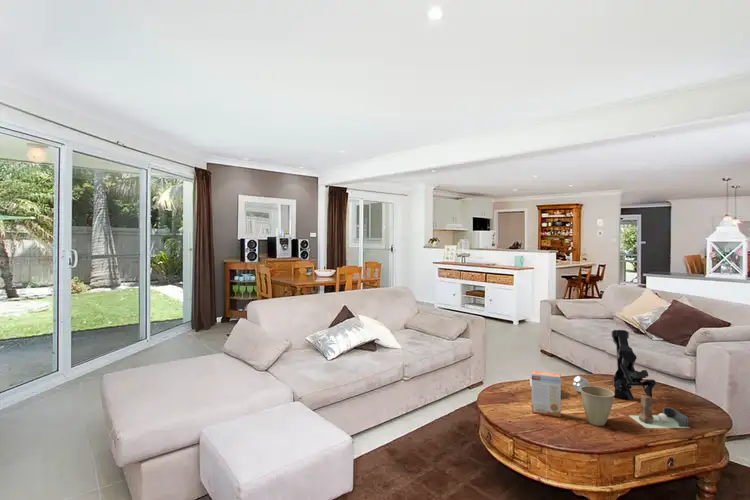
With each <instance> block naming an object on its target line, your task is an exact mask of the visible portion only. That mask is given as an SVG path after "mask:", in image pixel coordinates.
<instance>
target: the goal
mask: <svg viewBox="0 0 750 500" xmlns="http://www.w3.org/2000/svg"><path fill="white" fill-rule="evenodd" d="M662 413H664V414H665V415H666V416H667V417H671V418H673V419H674V420H676V421H678V422H679V426H680V427H689V417H688V416H686V415H684V414H683V413H681V412H679V411H678V410H677V409H674V408H673V407H663V408H662Z"/></svg>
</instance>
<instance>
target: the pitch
mask: <svg viewBox="0 0 750 500" xmlns="http://www.w3.org/2000/svg"><path fill="white" fill-rule="evenodd" d="M652 416H653V417H654V423H644V422H643V421H641V420H640V419H639V414H638V415H631V414H630V415H628V417H629V418H631V419H633V420H634V421H635V422H637V423H638V424H640V425H641V426H643V427H644V428H645V429H691V427H690V426H688V427H680V426H679V422H678V421H676V420H674V419H673V418H671V417H667V418H668V419H667V421H665V422H662V421H660V420H659V419H658V414H657V415H656V414H652Z"/></svg>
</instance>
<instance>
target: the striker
mask: <svg viewBox="0 0 750 500" xmlns="http://www.w3.org/2000/svg"><path fill="white" fill-rule="evenodd" d="M638 415H639V419H640V420H641V421H643V422H644V423H654V417H653V416H652V415H653V396H652V397H650V396H648V395H647V394H645V395H644V394H643V395H642V394H641V395H640V412H639V413H638Z"/></svg>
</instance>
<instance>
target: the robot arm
mask: <svg viewBox="0 0 750 500" xmlns="http://www.w3.org/2000/svg"><path fill="white" fill-rule="evenodd" d="M629 333H630V332H629V331H627V330H626V329H614V330H612V331H611V338H612V342H613V343H614V344H615V348H616V350H615V351H616V367H617V370H616V372H615V373H614V375H613V379H612V386H613V387H614V399H615V398H616V399H619V400H620V399H621V400H625V401H627V400H628V399H630V400H631V401H635V398H634V396H633V393H632V391H631V389H632V387H642V388H643V391H644V392H645V395H648V396H650V397H652V398H653V388H654V387H655V386H657V382H656V380H655V379H652V378H651V379H647V378H648V377H649V372H648V371H647V370H646V369H643V370H640V371H638V370H636V369H635V363H636V360H637V355H636V354H635V352H634V350H633V348H632V347H631V346H630V345H629V341H628V340H629V338H630V334H629ZM643 379H645V380H644V381H643Z"/></svg>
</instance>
